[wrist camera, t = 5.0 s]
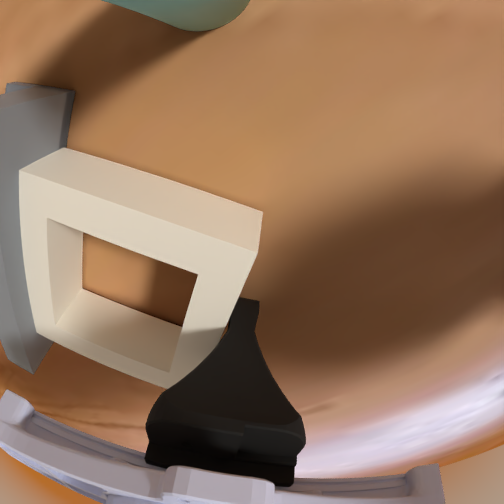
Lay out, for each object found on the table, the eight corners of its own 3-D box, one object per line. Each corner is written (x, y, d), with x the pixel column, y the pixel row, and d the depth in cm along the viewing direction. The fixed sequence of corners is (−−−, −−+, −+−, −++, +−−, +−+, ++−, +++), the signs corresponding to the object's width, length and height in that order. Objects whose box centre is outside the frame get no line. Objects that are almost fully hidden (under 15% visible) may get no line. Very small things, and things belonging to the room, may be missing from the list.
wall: (75, 90, 10) (-3, 109, 6) (66, 323, 17) (33, 374, 13) (15, 81, 10) (-58, 100, 6) (20, 299, 17) (-15, 344, 13)
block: (262, 211, 12) (258, 253, 10) (205, 353, 17) (194, 397, 14) (63, 147, 11) (18, 169, 9) (61, 297, 16) (36, 332, 13)
